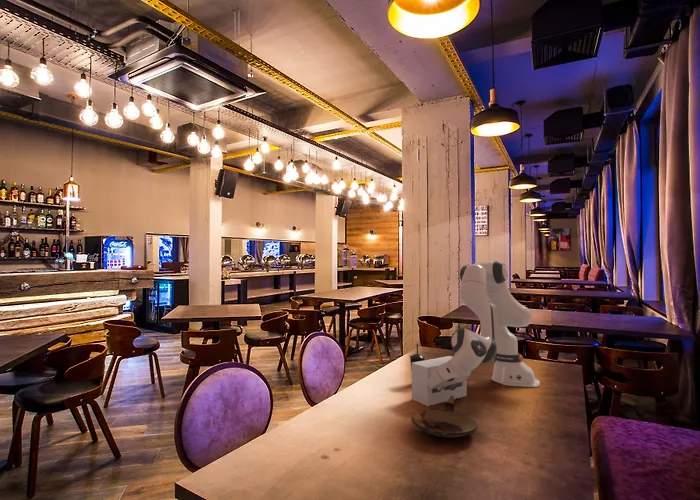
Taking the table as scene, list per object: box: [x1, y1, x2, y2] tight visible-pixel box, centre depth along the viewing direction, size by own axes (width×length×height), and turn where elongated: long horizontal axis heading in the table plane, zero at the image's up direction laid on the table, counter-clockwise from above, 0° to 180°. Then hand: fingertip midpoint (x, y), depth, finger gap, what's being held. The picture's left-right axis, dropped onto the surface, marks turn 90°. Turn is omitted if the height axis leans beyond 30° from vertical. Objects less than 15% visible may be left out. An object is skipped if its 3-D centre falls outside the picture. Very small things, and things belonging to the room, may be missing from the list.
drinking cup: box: [409, 343, 426, 372], centre depth 193 cm, size 8×8×20 cm
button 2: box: [445, 384, 456, 391], centre depth 168 cm, size 3×4×4 cm
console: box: [411, 355, 468, 407], centre depth 174 cm, size 11×24×16 cm, turn 122°
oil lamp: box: [410, 396, 478, 439], centre depth 139 cm, size 22×30×8 cm
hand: (439, 387), depth 164 cm, fingers closed, pressing on button 3
